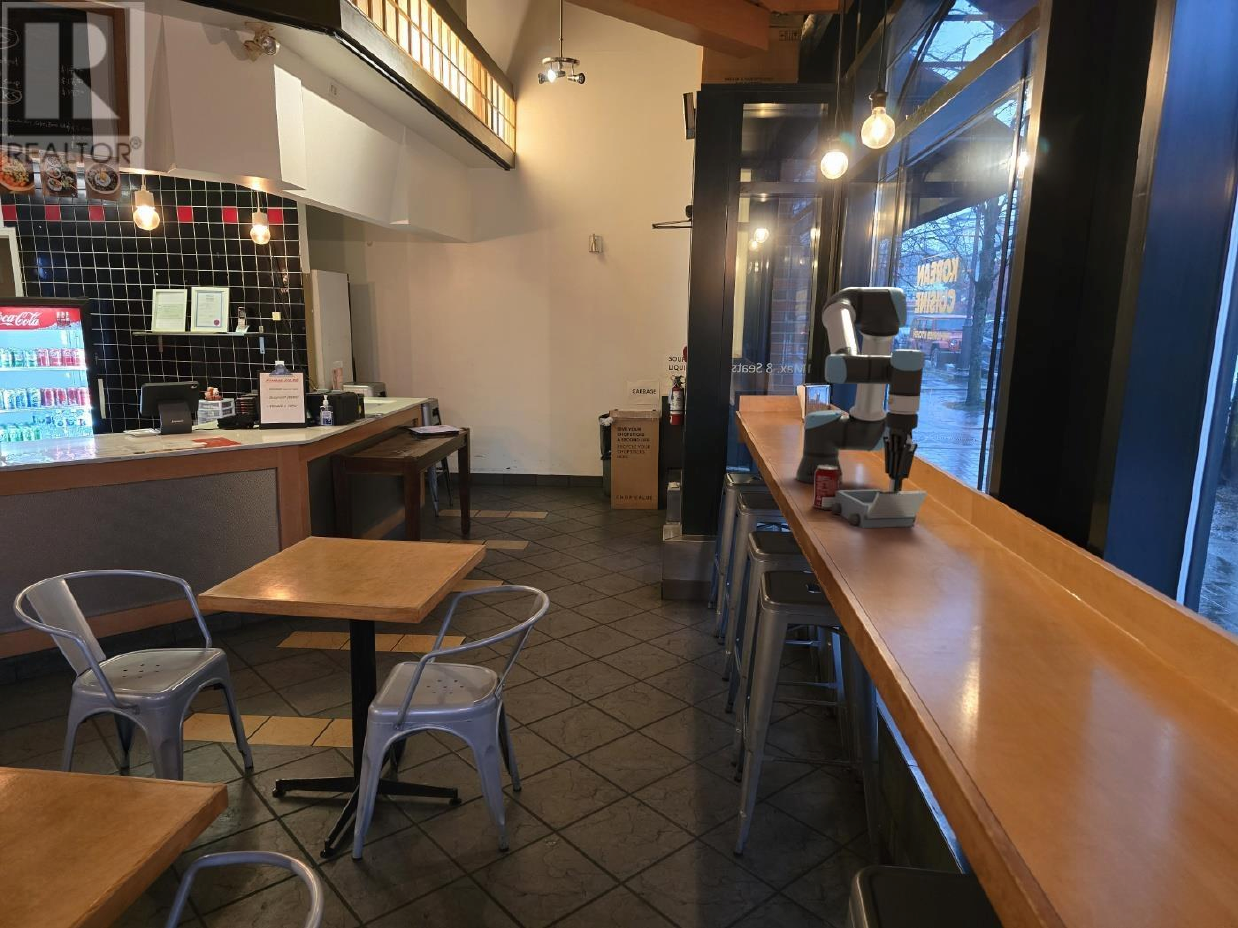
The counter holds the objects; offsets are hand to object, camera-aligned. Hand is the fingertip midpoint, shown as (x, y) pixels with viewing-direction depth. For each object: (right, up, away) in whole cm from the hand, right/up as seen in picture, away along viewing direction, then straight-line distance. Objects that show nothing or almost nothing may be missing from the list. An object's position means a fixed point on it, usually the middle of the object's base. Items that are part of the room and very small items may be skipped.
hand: (893, 503), depth 190 cm
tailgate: (0, -4, +2) cm, 4 cm away
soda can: (-11, -3, +23) cm, 26 cm away
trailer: (-2, -5, +12) cm, 13 cm away
